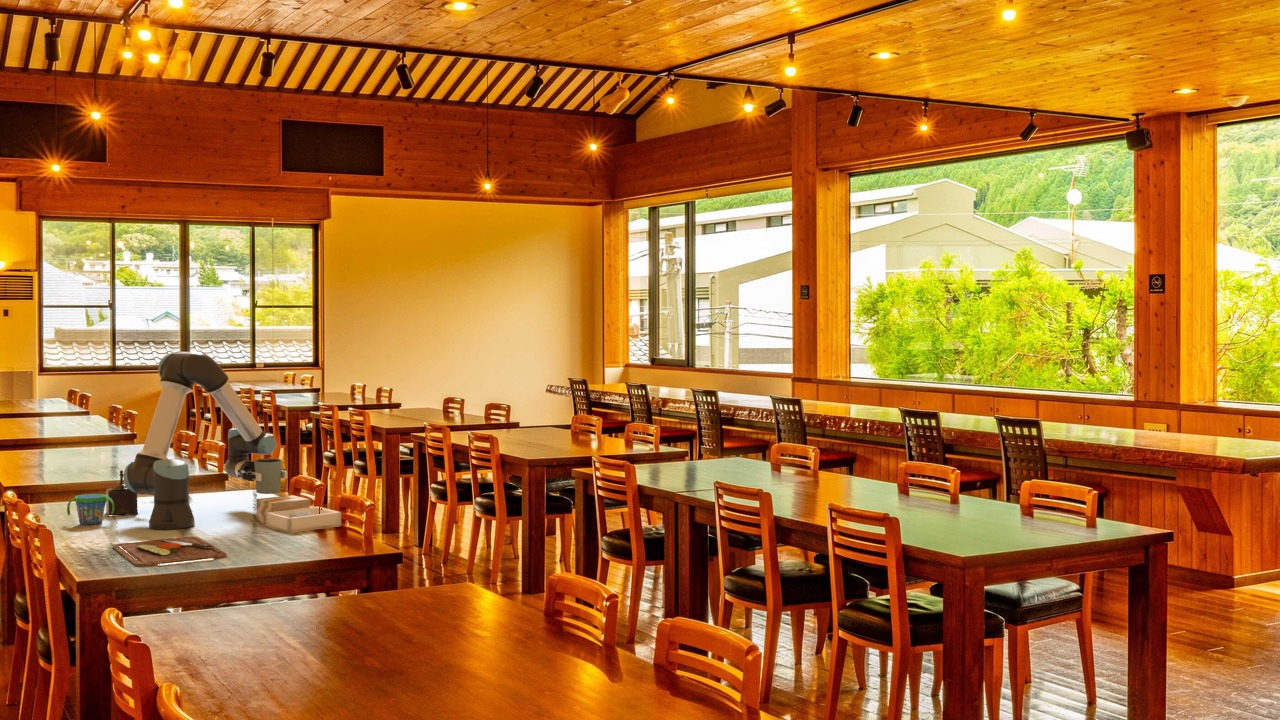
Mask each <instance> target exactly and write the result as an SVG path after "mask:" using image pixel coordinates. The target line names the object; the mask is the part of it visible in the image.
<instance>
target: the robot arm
mask: <svg viewBox="0 0 1280 720" xmlns="http://www.w3.org/2000/svg"><path fill="white" fill-rule="evenodd" d="M157 371H158V372H157V373H158V376H159V378H160V380H159V385H160V386H161V391H160V395H159V398H158V401H157V404H156V407H155V410H154V413H153V417H152V419H151V423H150V426H149V429H148V432H147V435H146V437H145V438H146V439H145V441H144V444H143V447H142V450H140V451H139V452H137V453H136V455H135V458H134V461H131V462H129V463H128V464H127V465H126V467H125V468H124V470H123V475H124V476H123V483H124V484H126V486H127V488H128V489H129V490H131V491H132V492H135V493H137V494H140V495H150V496H153V508H152V510H151V511H152V512H151V514H150V517H149V522H148V527H149V529H151V530H163V531H164V530H166V531H167V530H179V529H180V530H181V529H185V528H187V529H188V528H191V527H194V526H195V525H196V523H195V517H194V513H193V511H192V508H191V506H190V471H189V465H188V463H187V462H185V461H183V460H179V459H171V458H168V454H169V451H170V447H171V444H172V440H173V438H174V434H175V431H176V428H177V426H178V425H177V424H178V421H179V418H180V415H181V411H182V408H183V406H184V403H185V399H186V396H187V395H188V394H190V393H192V391H193V389H194V385H195V384H196V385H198V386H200V387H201V388H202V389H203V390H204V391H205V392H206V393H207V394H210V396H211V397H212V398H213V399H214V401H215V402H216V403H217V405H218V407H220V409H221V410H222V411H223V413H224V414H225V416H226V417H227V418H228V419H229V421H230V422H231V424H232V425H233V426H234V428H233V427H232V428H230V429H229V430H228V433H227V446H228V447H227V448H228V449H227V451H228V452H227V453H228V457H227V460H226V462H225V464H224V471H225V473H226V474H227V475H228V476H230V477H232V478H233V479H234V478H235V479H241V480H244V482H247V481H248V482H256V481H261V474H260V473H256V472H255V467H254V460H253V461H252V460H249V454H253V455H261V456H264V455H271V454H273V453H274V452H275V450H276V447H277V441H276V438H275V437H274V436H272V435H269V434H266V433H265V431H264V430H263V429H262V428H261V426H260V424H259V423H258V422H257V421H256V419H255V417H254V416H253V415H252V414H251V413H252V412H250V410H249V409H248V408H247V406H246V405H245V403H244V402H243V401H242V399H241V398H240V397H239V395H238V394H237V392H236V390H235V389H234V388H233V387H232V385H231V383H230V382H229V379H230V377H229V376H228V374H227V373H226V372H225V370H224V369H223V368H222V367H221V366H220V364H219V363H217V361H216V360H215V359H213V358H212V357H211V356H210V355H208V354H206V353H204V352H199V351H193V352H192V351H174V352H169V353H167V354H165V355H164V356H163V357H162V358H161V360H160V361H159V363H158V367H157ZM281 479H284V480H286V479H288V470H286V469H285V468H282V469H281Z"/></svg>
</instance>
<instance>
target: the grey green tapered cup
mask: <svg viewBox="0 0 1280 720" xmlns="http://www.w3.org/2000/svg"><path fill="white" fill-rule="evenodd" d="M253 462H254V467H255V472H256V473H260V474H261V481H256V480H255V491H256V494H259V495H274V494H275V495H276V494H278V493H281V480H282V478H281V469H283V459H281V458H274V457H270V458H259V459H258V458H257V459H254V460H253Z"/></svg>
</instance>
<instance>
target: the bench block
mask: <svg viewBox="0 0 1280 720" xmlns="http://www.w3.org/2000/svg"><path fill="white" fill-rule="evenodd" d="M255 502H256V521H257V522H259V521H260V523H264V524H266V517H265V513H266V512H275V511H283V510H292V509H301V508H309V507H311V505H310V502H311V499H310V498H305V497H302V496H297V495H294V494H290V495H281V496H273V497H271V496H270V497H263V498H256V500H255Z"/></svg>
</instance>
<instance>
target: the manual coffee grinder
mask: <svg viewBox="0 0 1280 720" xmlns="http://www.w3.org/2000/svg"><path fill="white" fill-rule="evenodd" d="M123 476H124V470H119V477H120V481H119V484H116V485H115V486H114V485H113V487H112V488H111V487H110V488H106V489H105V495H106V496H107V497H110V498H111V499H112V500H113V502H114V512H113V514H112V504H111V502H110V501H109V499H107V500H106V504H105V507H106V508H105V511H106V512H105V513H106V515H107V514H108V515H121V516H127V515H126V514H131V515H138V514H139V512H138V493H135V492H132V491H131V490H129V489H128V488H127V486H126V484H125V483H124V477H123ZM108 515H107V516H108Z"/></svg>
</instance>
